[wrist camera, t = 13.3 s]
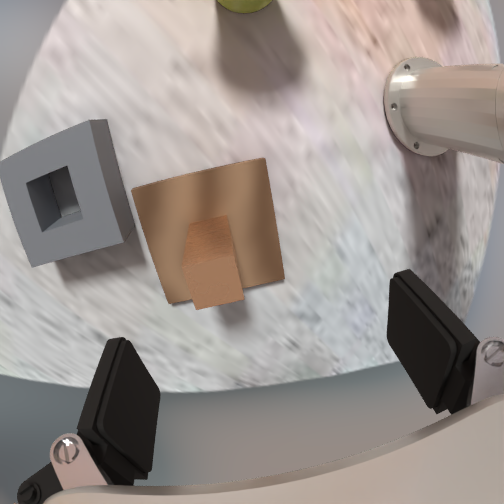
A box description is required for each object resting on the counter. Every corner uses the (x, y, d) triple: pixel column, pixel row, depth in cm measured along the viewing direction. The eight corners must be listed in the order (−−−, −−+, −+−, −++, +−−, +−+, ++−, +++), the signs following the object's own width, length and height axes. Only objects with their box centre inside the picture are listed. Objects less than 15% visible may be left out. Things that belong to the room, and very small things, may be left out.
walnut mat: (263, 157, 31) (265, 158, 30) (283, 274, 37) (284, 278, 36) (133, 188, 30) (131, 190, 29) (169, 299, 36) (168, 304, 35)
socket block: (106, 119, 27) (89, 119, 22) (135, 225, 32) (123, 242, 27) (20, 156, 26) (-4, 163, 22) (50, 249, 32) (32, 267, 27)
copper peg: (226, 214, 32) (233, 255, 23) (234, 249, 34) (244, 299, 25) (189, 223, 32) (181, 267, 23) (198, 257, 33) (196, 310, 24)
